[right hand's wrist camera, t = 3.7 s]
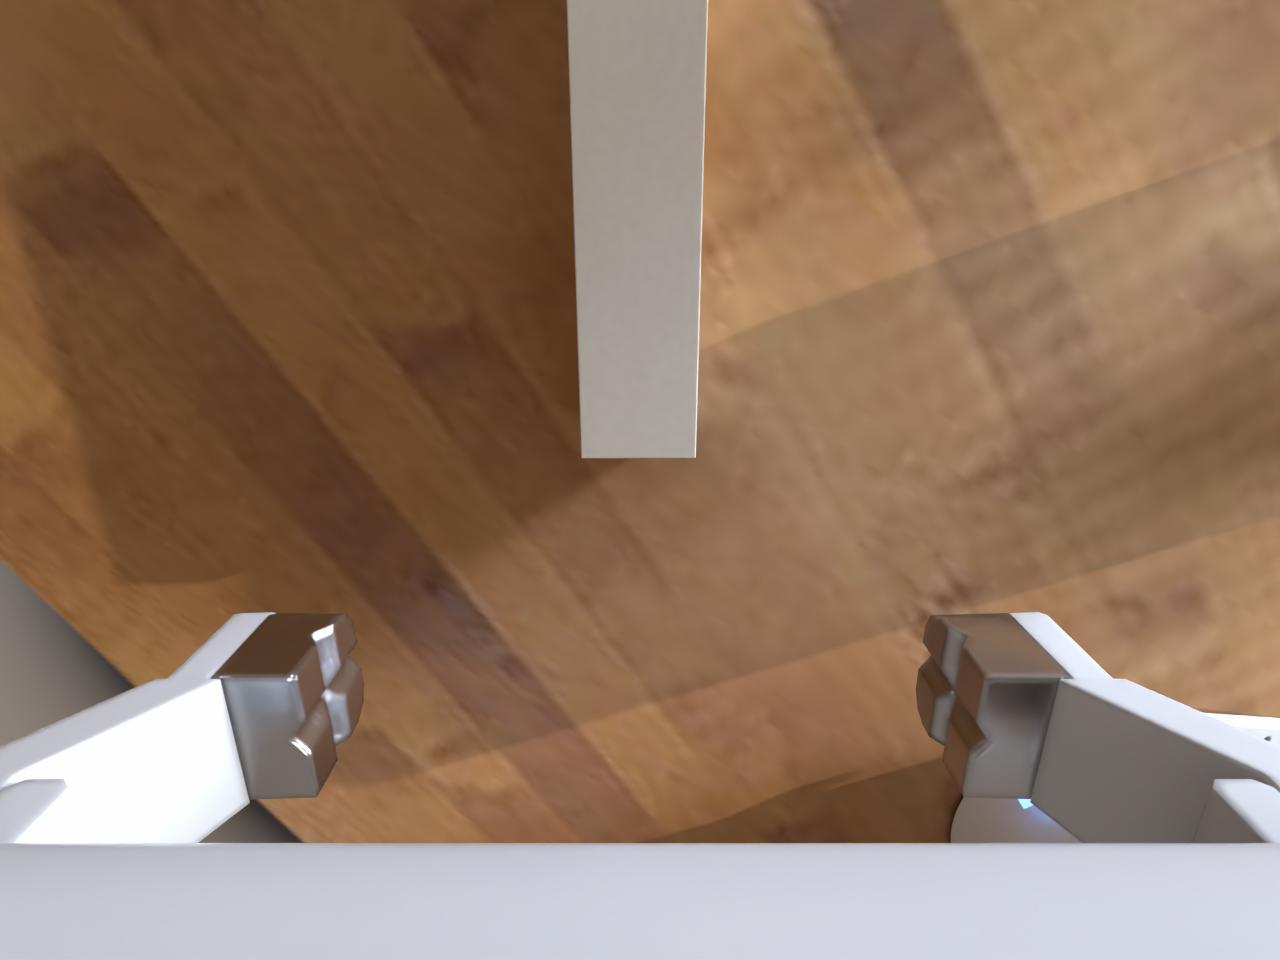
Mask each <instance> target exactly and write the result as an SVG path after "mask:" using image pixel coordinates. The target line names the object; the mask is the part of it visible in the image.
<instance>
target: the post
mask: <svg viewBox="0 0 1280 960" xmlns="http://www.w3.org/2000/svg"><path fill="white" fill-rule="evenodd" d="M707 18H708V0H567V30H568V61H569V93H570V124H571V155H572V186H573V218H574V249H575V280H576V312H577V343H578V374H579V406H580V437H581V458H695V457H696V426H697V389H698V352H699V315H700V278H701V241H702V204H703V167H704V130H705V92H706V55H707Z"/></svg>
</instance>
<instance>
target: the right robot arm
mask: <svg viewBox="0 0 1280 960" xmlns="http://www.w3.org/2000/svg"><path fill="white" fill-rule="evenodd" d="M356 643H357V638H356V633H355V628H354V623H353V621H352V620H351V618H350V617H349V616H348V615H347V614H307V613H273V612H264V613H240V614H234V615H232V616H231V617H230V618H229V619H228V620H227V621H226V622H225V623H224V624H223V625H222V626H221V627H220V628H219V629H218V630H217V631H216V632H215V633H214V634H213V635H212V636H211V637H210V638H209V639H208V640H207V641H206V642H205V643H204V644H203V645H201V646H200V647H199V648H198V649H197V650H196V651H195V652H194V653H193V654H192V655H191V656H190V657H189V658H188V659H187V660H186V661H185V662H184V663H183V664H182V665H181V666H180V667H179V668H178V669H177V670H176V671H175V672H174V673H173V674H172V675H170V676H169V677H168V678H167V679H154V680H151V681H149V682H147V683H145V684H142V685H140V686H138V687H135V688H133V689H131V690H128V691H126V692H124V693H122V694H119V695H117V696H115V697H112V698H110V699H108V700H105V701H103V702H101V703H98V704H96V705H94V706H92V707H89V708H87V709H85V710H82V711H80V712H78V713H75V714H73V715H71V716H69V717H66V718H64V719H62V720H59V721H57V722H55V723H52V724H50V725H48V726H45V727H43V728H41V729H39V730H36V731H34V732H32V733H29V734H27V735H25V736H22V737H20V738H18V739H15V740H13V741H11V742H9V743H6V744H4V745H2V746H0V960H1280V718H1270V717H1256V716H1242V715H1229V714H1215V713H1202V712H1200V711H1197V710H1195V709H1193V708H1191V707H1188V706H1186V705H1184V704H1181V703H1179V702H1177V701H1174V700H1172V699H1170V698H1168V697H1165V696H1163V695H1161V694H1158V693H1156V692H1154V691H1151V690H1149V689H1147V688H1145V687H1142V686H1140V685H1138V684H1135V683H1133V682H1131V681H1129V680H1126V679H1113V678H1112V677H1111V676H1110V675H1109V674H1107V673H1106V672H1105V671H1104V670H1103V669H1102V668H1101V667H1100V666H1099V665H1098V664H1097V663H1096V662H1095V661H1094V660H1093V659H1092V658H1091V657H1090V656H1089V655H1088V654H1087V653H1086V652H1085V651H1084V650H1083V649H1082V648H1081V647H1080V646H1079V645H1078V644H1077V643H1076V642H1075V641H1073V640H1072V639H1071V638H1070V637H1069V636H1068V635H1067V634H1066V633H1065V632H1064V631H1063V630H1062V629H1061V628H1060V627H1059V626H1058V625H1057V624H1056V623H1055V622H1054V621H1053V620H1052V619H1051V618H1050V617H1049V616H1048V615H1045V614H1042V613H1039V612H1028V613H997V614H957V615H933V616H930V618H929V620H928V622H927V624H926V626H925V632H924V638H923V643H924V644H925V646H926V647H927V649H928V651H929V652H930V654H931V656H930V657H929V659H928V660H927V661H926V662H925V663H924V664H923V665H922V666H921V667H920V668H919V669H918V677H917V685H916V695H917V705H918V711H919V714H920V718H921V721H922V724H923V726H924V727H925V729H926V731H927V733H928V735H929V737H931V738H932V739H934V740H935V741H937V742H938V743H940V744H942V745H943V746H945V747H944V753H943V759H942V760H943V762H944V764H945V766H946V767H947V769H948V771H949V773H950V775H951V776H952V778H953V780H954V782H955V783H956V785H957V787H958V789H959V790H960V792H961V794H962V796H963V799H962V801H961V803H960V804H959V806H958V809H957V811H956V813H955V816H954V819H953V823H952V827H951V839H950V842H951V843H198V842H200V841H201V840H202V839H203V838H205V837H206V836H207V835H209V834H210V833H211V832H212V831H214V830H215V829H216V828H218V827H219V826H220V825H222V824H223V823H224V822H225V821H227V820H228V819H229V818H231V817H232V816H233V815H234V814H236V813H237V812H238V811H240V810H241V809H242V808H243V807H245V806H246V805H247V804H249V802H250V801H249V799H277V798H312V797H317V796H318V794H319V792H320V791H321V789H322V787H323V785H324V783H325V782H326V780H327V778H328V776H329V775H330V773H331V771H332V769H333V767H334V766H335V764H336V762H337V760H338V759H337V753H336V747H335V746H337V745H338V744H340V743H342V742H343V741H345V740H346V739H348V738H349V737H351V735H352V733H353V731H354V729H355V727H356V725H357V724H358V722H359V718H360V713H361V709H362V705H363V696H364V683H363V676H362V669H361V668H360V667H359V666H358V665H357V664H356V663H355V662H354V661H353V660H352V659H351V657H350V656H349V654H350V652H351V651H352V649H353V647H354V646H355V644H356Z"/></svg>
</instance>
